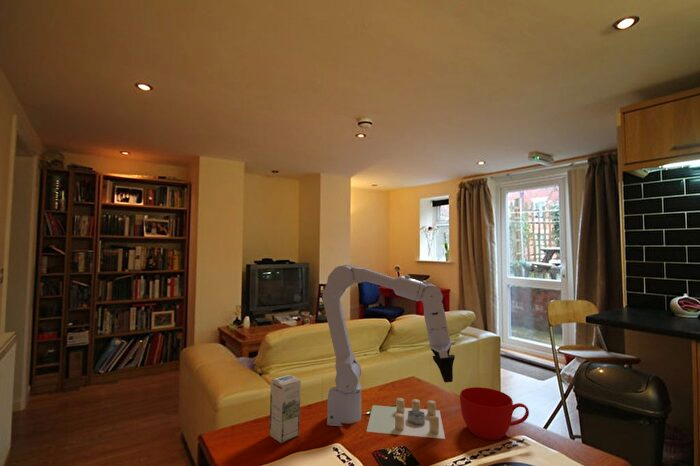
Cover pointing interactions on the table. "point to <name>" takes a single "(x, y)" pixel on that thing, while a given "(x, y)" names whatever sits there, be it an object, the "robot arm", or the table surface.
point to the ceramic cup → (488, 412)
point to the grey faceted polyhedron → (416, 417)
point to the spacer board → (406, 420)
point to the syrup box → (284, 408)
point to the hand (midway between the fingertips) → (446, 376)
